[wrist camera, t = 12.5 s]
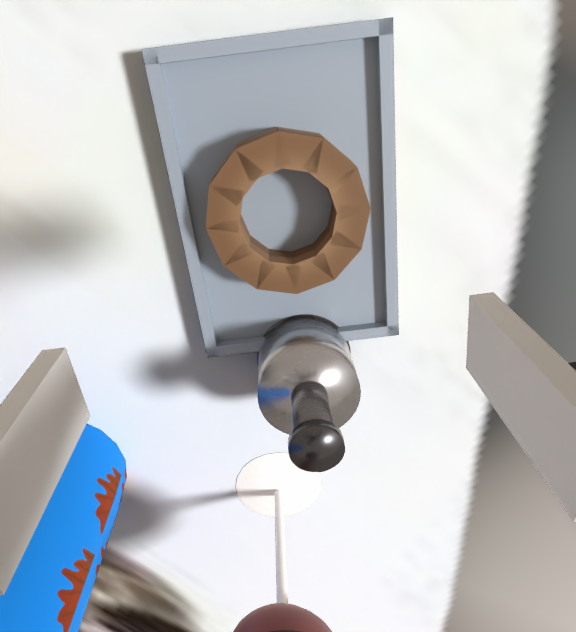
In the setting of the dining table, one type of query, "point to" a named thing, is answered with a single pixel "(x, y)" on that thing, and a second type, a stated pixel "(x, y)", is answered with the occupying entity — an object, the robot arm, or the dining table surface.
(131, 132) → the dining table surface
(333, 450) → the metal peg stand
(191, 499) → the dining table surface
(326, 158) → the ring
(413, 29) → the dining table surface
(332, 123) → the tray
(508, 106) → the dining table surface
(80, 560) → the thermos
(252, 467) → the wineglass
